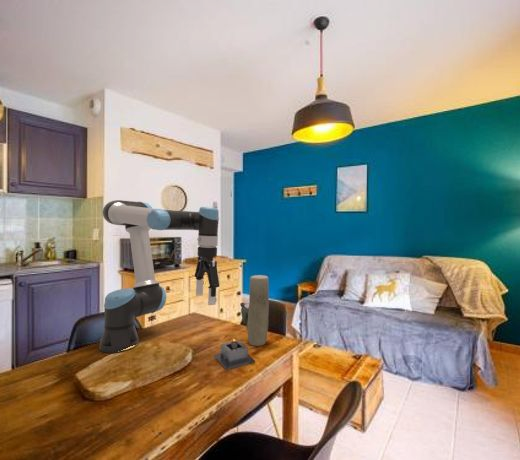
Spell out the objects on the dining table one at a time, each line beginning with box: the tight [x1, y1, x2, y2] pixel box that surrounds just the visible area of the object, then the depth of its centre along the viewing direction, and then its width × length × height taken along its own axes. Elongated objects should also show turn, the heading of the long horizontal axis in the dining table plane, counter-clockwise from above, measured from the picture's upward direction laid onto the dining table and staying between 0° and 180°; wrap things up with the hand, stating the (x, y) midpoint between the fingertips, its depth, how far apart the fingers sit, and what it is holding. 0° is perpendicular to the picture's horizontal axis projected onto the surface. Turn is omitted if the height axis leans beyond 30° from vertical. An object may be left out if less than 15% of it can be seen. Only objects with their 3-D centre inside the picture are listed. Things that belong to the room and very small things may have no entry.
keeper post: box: [213, 337, 256, 371], centre depth 111 cm, size 12×12×8 cm
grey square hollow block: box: [220, 339, 249, 364], centre depth 111 cm, size 8×8×4 cm
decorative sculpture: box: [239, 274, 270, 347], centre depth 128 cm, size 14×10×30 cm
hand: (205, 299), depth 111 cm, fingers open, 13 cm apart
